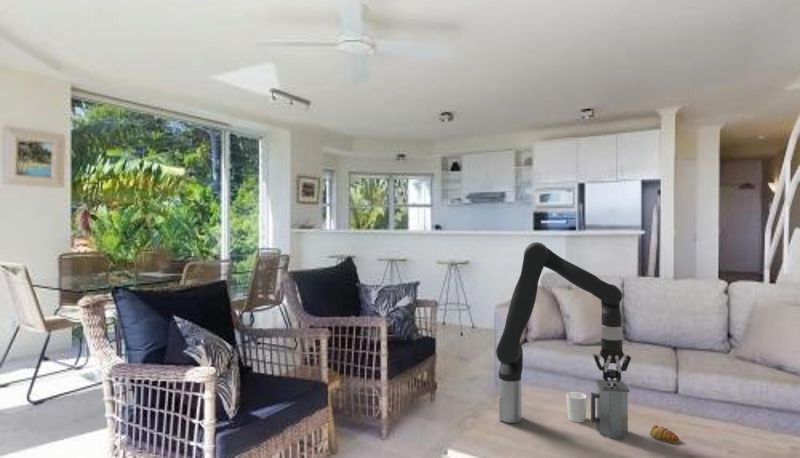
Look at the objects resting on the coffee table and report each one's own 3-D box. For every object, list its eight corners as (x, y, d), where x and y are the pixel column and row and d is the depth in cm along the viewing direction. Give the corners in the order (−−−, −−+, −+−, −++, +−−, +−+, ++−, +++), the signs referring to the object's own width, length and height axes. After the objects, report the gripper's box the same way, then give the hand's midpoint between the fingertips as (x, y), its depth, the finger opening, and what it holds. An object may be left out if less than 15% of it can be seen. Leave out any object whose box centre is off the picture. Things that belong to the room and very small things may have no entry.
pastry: (682, 441, 174) (682, 431, 174) (673, 446, 170) (673, 436, 170) (656, 432, 182) (656, 422, 182) (647, 437, 178) (647, 427, 178)
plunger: (603, 413, 178) (603, 373, 178) (598, 405, 186) (598, 366, 186) (626, 414, 177) (626, 374, 176) (620, 406, 185) (619, 367, 184)
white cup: (583, 415, 198) (583, 391, 198) (589, 423, 190) (589, 399, 190) (564, 414, 199) (564, 391, 198) (569, 423, 191) (569, 398, 191)
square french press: (594, 437, 178) (594, 388, 178) (588, 425, 188) (588, 379, 187) (630, 439, 176) (630, 389, 175) (622, 427, 186) (621, 380, 185)
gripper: (594, 338, 178) (595, 383, 179) (634, 339, 176) (634, 385, 176) (589, 334, 186) (590, 377, 186) (628, 334, 183) (628, 378, 184)
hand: (612, 380), depth 181 cm, fingers closed on plunger, 3 cm apart
